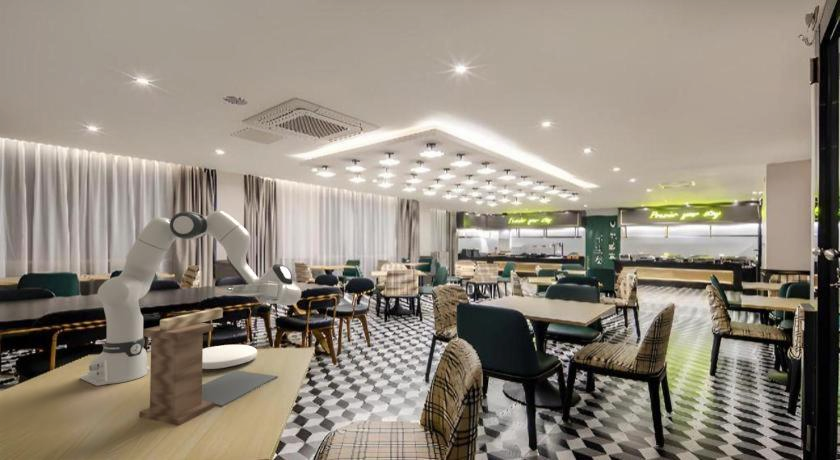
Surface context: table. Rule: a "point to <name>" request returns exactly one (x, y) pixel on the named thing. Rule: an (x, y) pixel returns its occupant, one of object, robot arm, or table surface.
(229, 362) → the plate
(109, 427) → the table surface
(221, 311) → the rod
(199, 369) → the stand
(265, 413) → the table surface
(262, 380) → the mat
